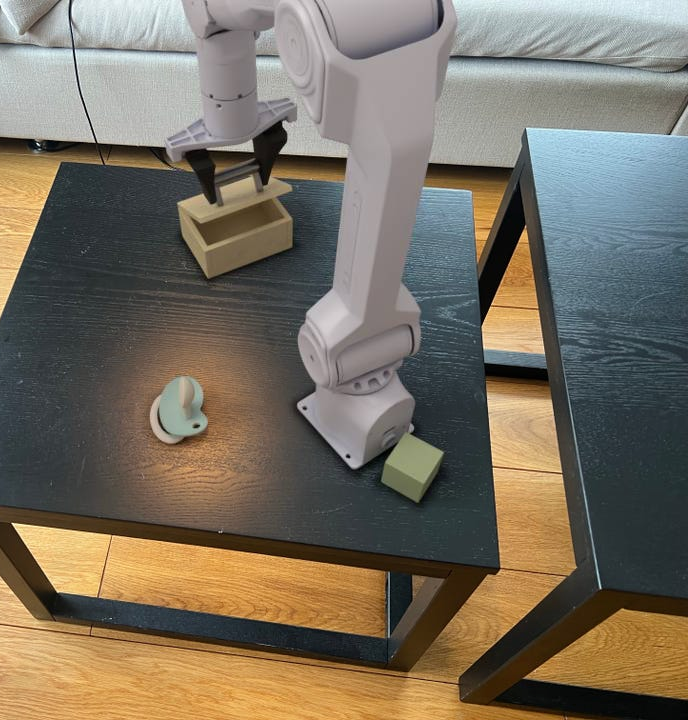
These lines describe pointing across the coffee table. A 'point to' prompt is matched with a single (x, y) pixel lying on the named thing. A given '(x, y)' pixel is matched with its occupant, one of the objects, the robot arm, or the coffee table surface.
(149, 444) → the coffee table surface
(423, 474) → the block
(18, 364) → the coffee table surface
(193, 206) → the lid
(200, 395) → the pacifier
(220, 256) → the wooden box
